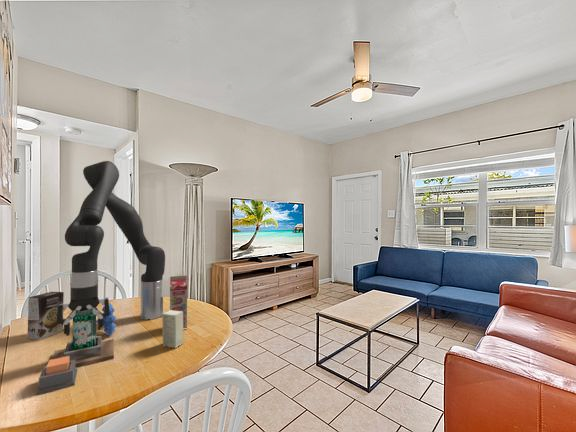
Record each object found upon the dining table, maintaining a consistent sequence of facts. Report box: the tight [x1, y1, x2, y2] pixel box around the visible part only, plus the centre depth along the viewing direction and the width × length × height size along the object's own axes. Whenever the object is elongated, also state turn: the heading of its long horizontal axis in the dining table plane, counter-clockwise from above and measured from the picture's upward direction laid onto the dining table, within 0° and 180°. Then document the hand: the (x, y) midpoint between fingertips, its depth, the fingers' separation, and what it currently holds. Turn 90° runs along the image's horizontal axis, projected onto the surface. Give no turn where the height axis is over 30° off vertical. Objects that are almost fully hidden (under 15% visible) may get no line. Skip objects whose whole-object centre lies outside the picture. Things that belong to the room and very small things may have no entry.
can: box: [72, 308, 97, 351], centre depth 93 cm, size 6×6×15 cm
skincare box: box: [161, 309, 185, 348], centre depth 102 cm, size 6×4×12 cm
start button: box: [46, 356, 70, 375], centre depth 79 cm, size 5×5×3 cm
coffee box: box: [26, 291, 65, 341], centre depth 110 cm, size 9×6×16 cm
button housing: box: [36, 359, 78, 395], centre depth 78 cm, size 8×8×4 cm
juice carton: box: [169, 275, 188, 328], centre depth 118 cm, size 7×7×22 cm
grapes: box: [96, 303, 117, 336], centre depth 110 cm, size 12×7×12 cm, turn 46°
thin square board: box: [50, 335, 115, 369], centre depth 93 cm, size 17×14×4 cm
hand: (84, 331), depth 93 cm, fingers open, 8 cm apart
